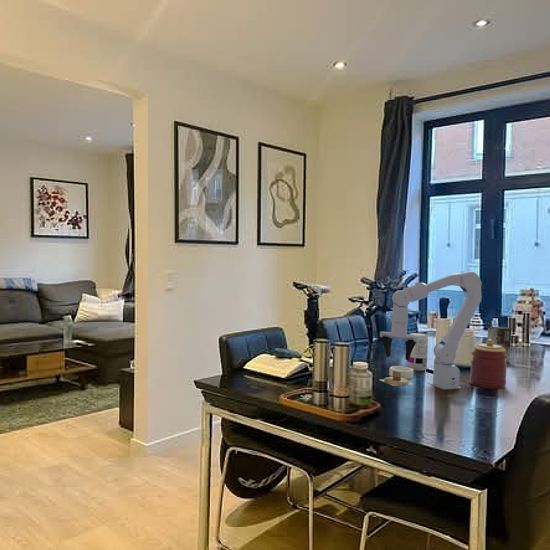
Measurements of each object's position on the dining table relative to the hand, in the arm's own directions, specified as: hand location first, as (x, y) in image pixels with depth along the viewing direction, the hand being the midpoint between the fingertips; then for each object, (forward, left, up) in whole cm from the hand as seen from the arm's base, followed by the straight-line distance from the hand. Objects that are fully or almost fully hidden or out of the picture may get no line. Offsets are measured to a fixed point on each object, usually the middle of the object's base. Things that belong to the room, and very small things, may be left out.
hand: (397, 358), depth 199 cm
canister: (-11, -34, -10) cm, 37 cm away
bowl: (+8, -8, -10) cm, 15 cm away
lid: (0, 0, -9) cm, 9 cm away
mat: (0, 0, -9) cm, 9 cm away
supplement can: (+19, -24, -10) cm, 32 cm away
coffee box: (+26, -77, -10) cm, 82 cm away
